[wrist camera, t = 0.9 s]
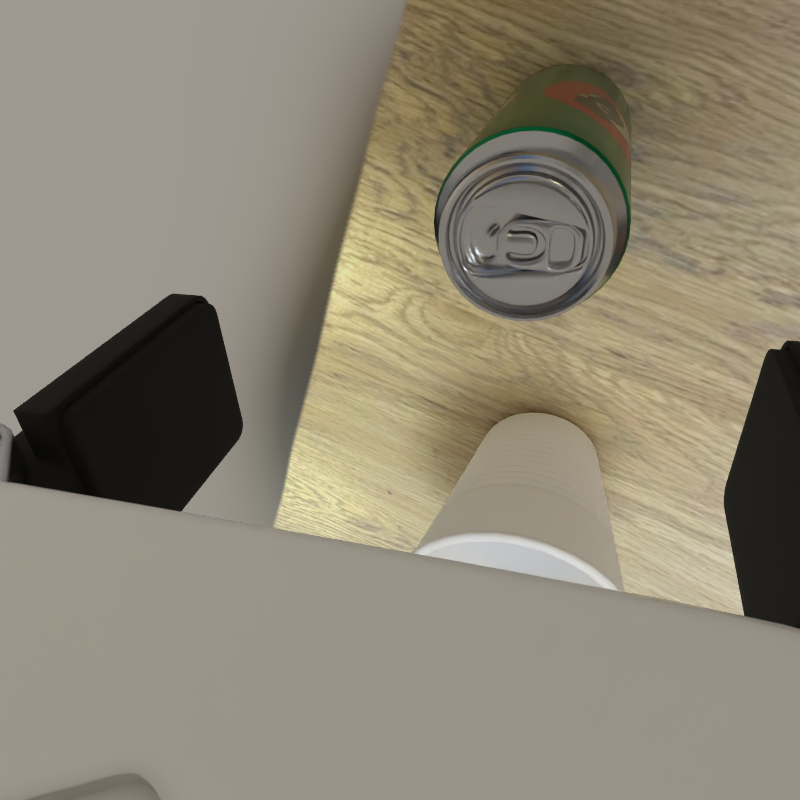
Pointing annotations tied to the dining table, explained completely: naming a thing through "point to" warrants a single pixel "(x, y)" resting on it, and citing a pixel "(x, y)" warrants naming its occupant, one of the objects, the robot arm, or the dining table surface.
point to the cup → (530, 506)
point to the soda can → (540, 197)
